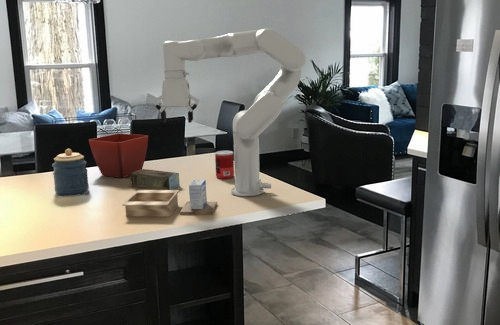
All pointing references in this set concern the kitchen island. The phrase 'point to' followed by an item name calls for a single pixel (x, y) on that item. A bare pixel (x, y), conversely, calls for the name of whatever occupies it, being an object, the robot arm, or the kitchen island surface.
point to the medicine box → (197, 194)
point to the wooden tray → (152, 203)
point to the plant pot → (119, 153)
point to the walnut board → (206, 210)
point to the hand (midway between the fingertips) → (177, 122)
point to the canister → (70, 174)
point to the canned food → (224, 164)
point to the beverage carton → (155, 179)
